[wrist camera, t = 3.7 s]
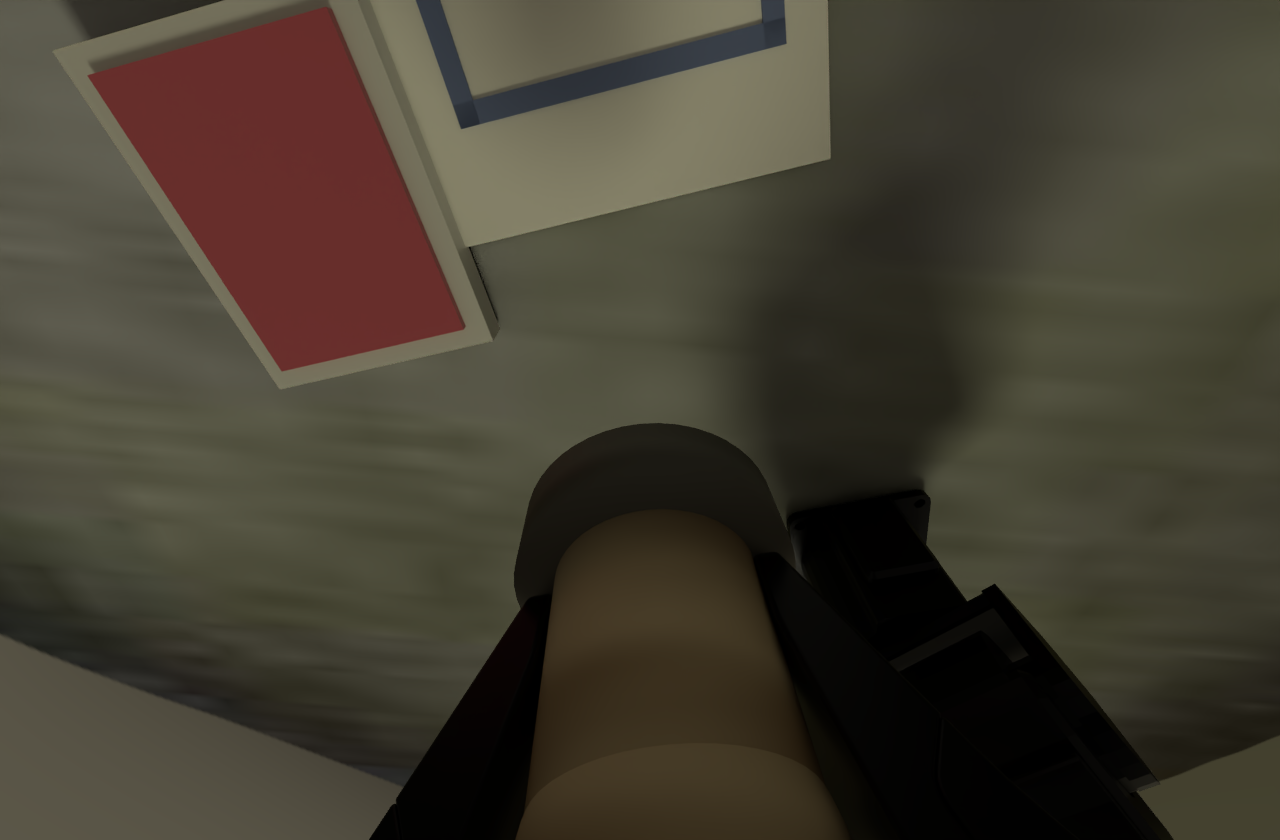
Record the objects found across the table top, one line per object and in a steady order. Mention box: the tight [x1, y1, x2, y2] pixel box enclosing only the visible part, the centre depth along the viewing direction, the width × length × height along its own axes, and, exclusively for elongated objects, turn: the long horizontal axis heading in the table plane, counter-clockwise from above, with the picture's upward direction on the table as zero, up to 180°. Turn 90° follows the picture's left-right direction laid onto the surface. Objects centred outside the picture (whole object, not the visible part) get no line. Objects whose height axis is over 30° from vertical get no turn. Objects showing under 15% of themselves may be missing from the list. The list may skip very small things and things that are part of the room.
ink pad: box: [52, 0, 500, 389], centre depth 15 cm, size 10×8×2 cm
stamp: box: [514, 423, 852, 840], centre depth 7 cm, size 5×5×8 cm
